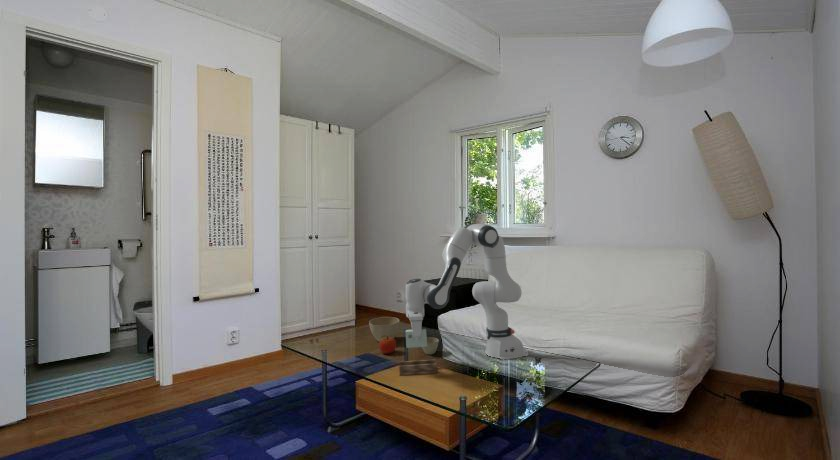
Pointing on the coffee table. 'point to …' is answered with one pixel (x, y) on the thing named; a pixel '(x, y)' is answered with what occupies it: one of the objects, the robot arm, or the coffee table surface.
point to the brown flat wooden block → (417, 367)
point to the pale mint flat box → (411, 339)
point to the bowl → (431, 346)
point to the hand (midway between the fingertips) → (416, 340)
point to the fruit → (387, 344)
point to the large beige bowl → (384, 327)
